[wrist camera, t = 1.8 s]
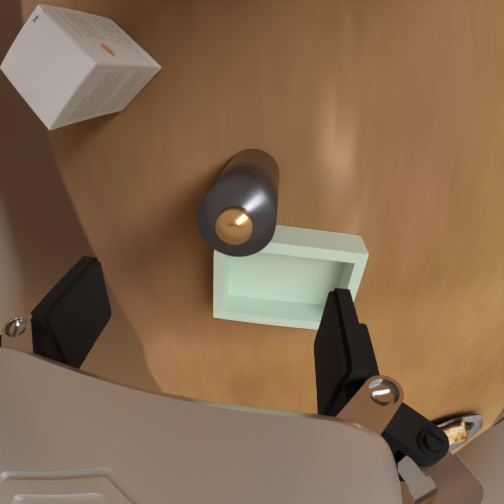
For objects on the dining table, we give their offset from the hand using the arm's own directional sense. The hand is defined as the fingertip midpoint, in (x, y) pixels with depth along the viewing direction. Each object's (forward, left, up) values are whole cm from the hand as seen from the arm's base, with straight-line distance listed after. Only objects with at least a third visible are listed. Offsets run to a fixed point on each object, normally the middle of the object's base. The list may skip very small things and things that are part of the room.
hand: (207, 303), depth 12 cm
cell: (0, 0, -17) cm, 17 cm away
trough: (+9, +4, -17) cm, 19 cm away
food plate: (+50, +45, -17) cm, 69 cm away
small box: (-10, -13, -17) cm, 24 cm away
